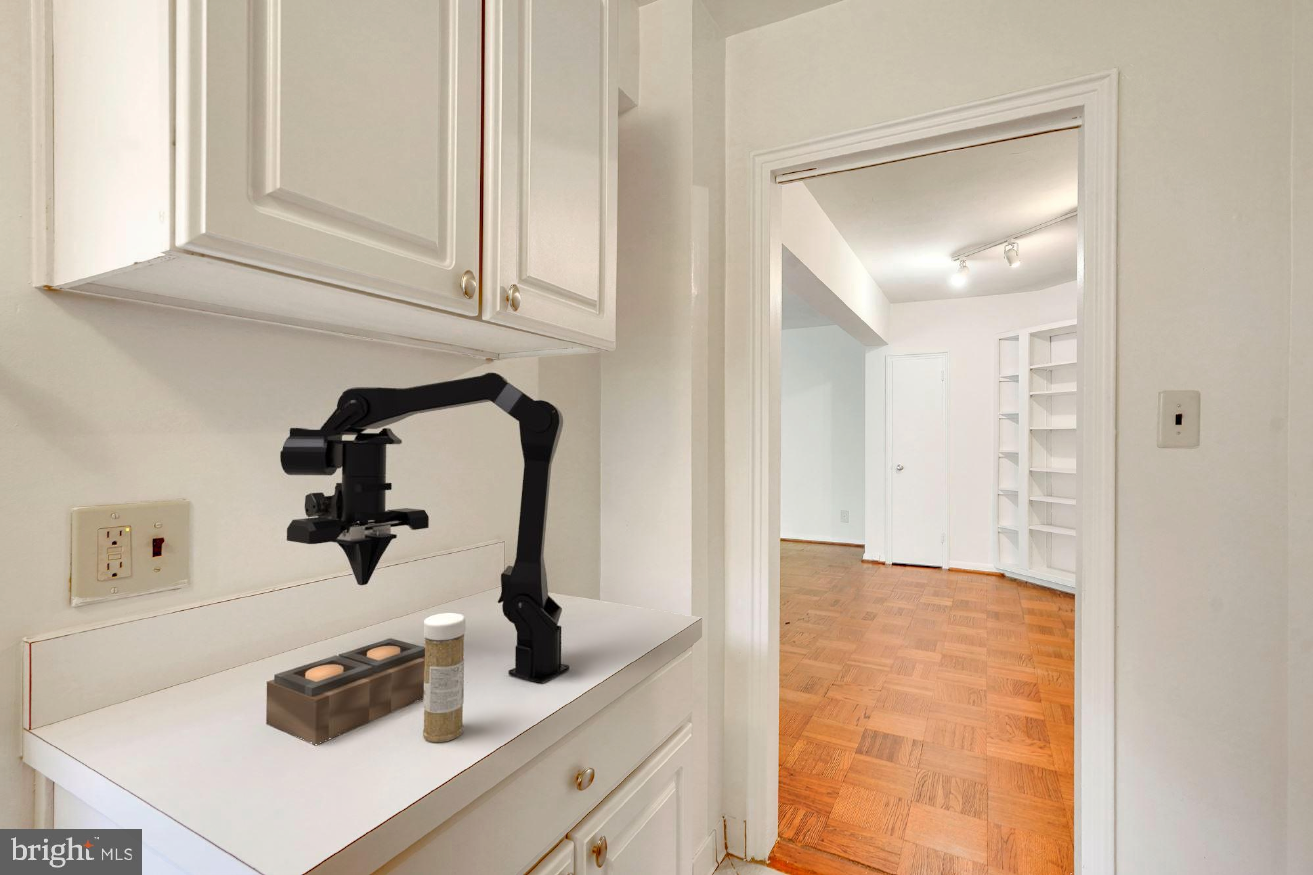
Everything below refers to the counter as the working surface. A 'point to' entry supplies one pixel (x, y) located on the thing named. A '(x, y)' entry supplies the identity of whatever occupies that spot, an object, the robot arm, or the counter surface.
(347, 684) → the socket block
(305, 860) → the counter surface
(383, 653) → the peg
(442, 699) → the sprinkles bottle
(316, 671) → the peg
